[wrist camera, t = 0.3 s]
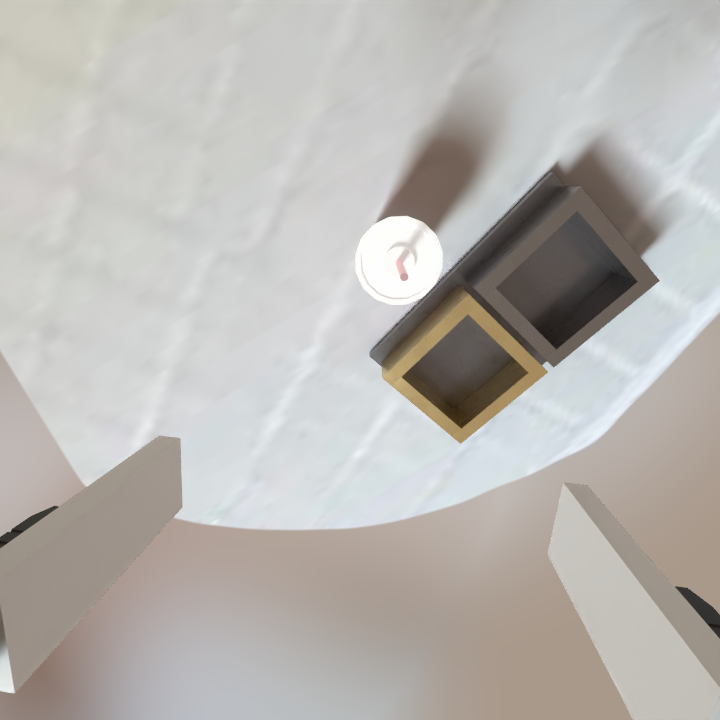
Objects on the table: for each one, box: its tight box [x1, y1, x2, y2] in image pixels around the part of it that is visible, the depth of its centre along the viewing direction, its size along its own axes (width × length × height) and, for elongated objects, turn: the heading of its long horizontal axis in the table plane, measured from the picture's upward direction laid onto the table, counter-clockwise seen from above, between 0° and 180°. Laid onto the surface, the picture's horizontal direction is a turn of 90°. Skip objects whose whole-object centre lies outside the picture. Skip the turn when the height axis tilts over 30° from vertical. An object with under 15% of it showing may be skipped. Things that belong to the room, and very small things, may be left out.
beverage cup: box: [355, 216, 443, 305], centre depth 29 cm, size 6×6×14 cm
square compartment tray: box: [370, 172, 659, 444], centre depth 36 cm, size 22×13×4 cm, turn 138°
